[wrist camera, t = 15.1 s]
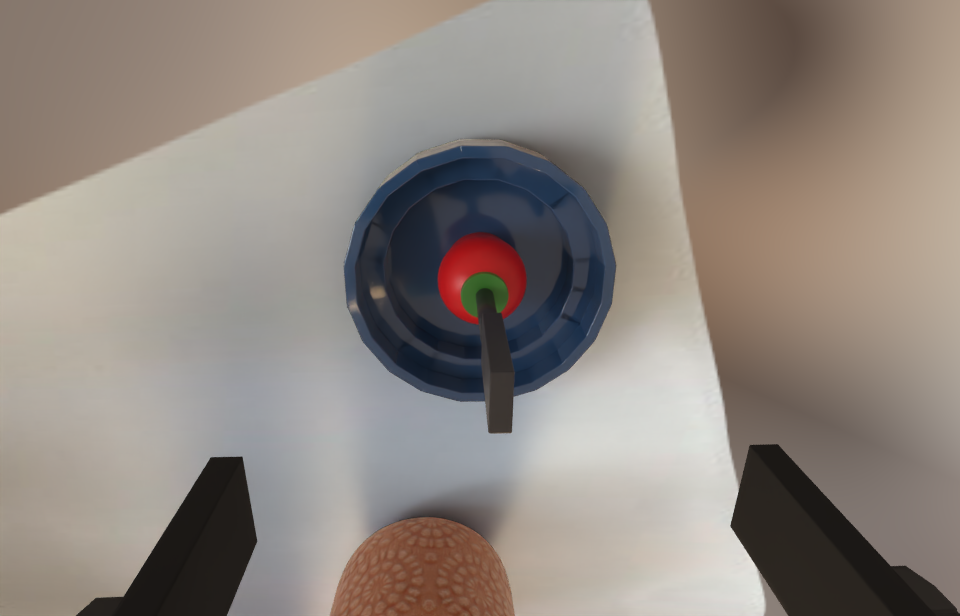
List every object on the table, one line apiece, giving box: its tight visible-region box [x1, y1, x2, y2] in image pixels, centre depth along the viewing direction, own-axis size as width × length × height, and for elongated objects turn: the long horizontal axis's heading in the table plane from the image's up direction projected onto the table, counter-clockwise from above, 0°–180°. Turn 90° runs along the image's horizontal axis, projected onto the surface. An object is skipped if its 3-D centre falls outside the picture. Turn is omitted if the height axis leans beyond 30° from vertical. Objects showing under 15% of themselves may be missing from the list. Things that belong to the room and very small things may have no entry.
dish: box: [344, 139, 616, 402], centre depth 31 cm, size 14×14×4 cm
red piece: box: [438, 232, 527, 433], centre depth 25 cm, size 5×5×15 cm
